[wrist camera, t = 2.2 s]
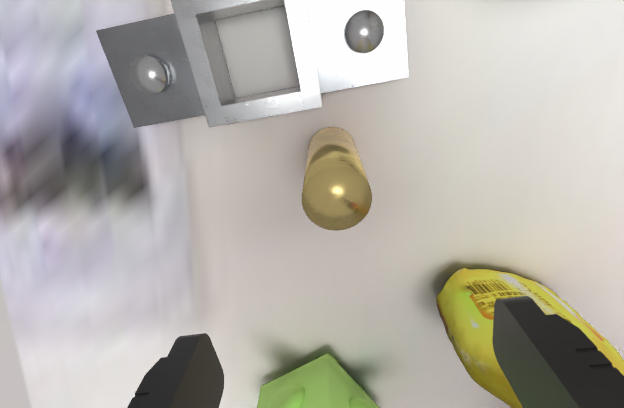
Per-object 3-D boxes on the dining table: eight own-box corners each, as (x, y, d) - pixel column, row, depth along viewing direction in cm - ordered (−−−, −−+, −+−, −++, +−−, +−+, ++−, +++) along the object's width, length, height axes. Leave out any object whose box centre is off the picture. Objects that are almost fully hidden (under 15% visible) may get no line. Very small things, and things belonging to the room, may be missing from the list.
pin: (352, 123, 26) (367, 160, 17) (357, 168, 28) (375, 225, 19) (304, 131, 27) (295, 172, 18) (312, 175, 28) (308, 234, 19)
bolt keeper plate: (393, -40, 22) (407, -58, 18) (401, 84, 25) (414, 90, 22) (113, 21, 24) (75, 16, 20) (153, 129, 27) (127, 142, 23)
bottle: (564, 269, 32) (895, 567, 13) (534, 320, 34) (777, 628, 16) (440, 250, 31) (608, 532, 13) (420, 303, 34) (535, 601, 15)
